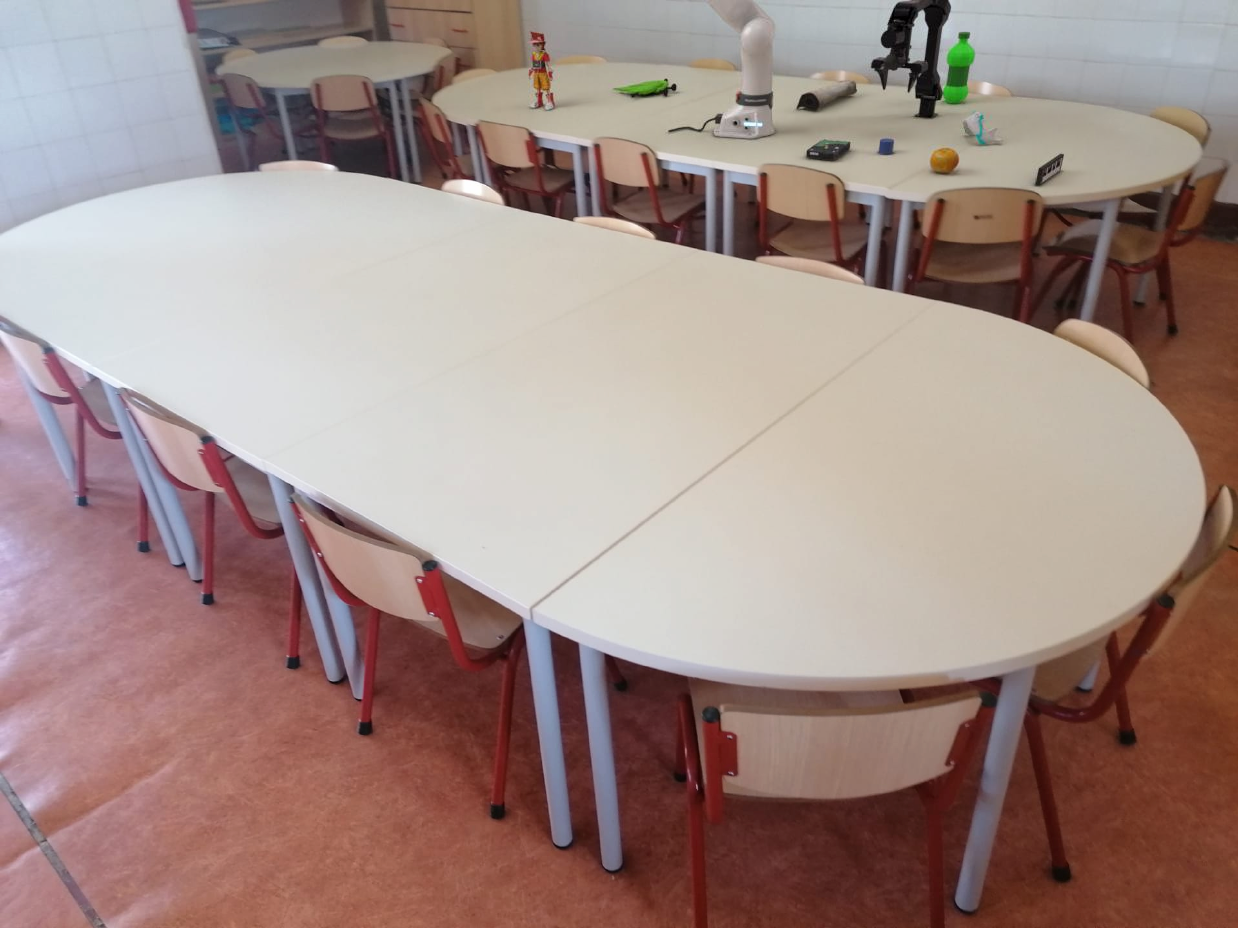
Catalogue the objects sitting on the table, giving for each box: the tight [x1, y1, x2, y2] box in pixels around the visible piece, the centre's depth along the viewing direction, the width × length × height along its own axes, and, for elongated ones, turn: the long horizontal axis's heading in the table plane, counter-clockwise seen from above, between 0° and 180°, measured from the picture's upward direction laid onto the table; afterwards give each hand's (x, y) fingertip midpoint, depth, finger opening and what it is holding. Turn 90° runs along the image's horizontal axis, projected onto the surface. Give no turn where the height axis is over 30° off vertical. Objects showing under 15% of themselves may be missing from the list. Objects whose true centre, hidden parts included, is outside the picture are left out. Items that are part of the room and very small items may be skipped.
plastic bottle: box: [942, 31, 976, 104], centre depth 348 cm, size 10×10×25 cm
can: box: [878, 137, 895, 156], centre depth 304 cm, size 5×5×4 cm
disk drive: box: [805, 138, 851, 161], centre depth 306 cm, size 10×3×15 cm
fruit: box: [929, 147, 960, 174], centre depth 283 cm, size 8×8×8 cm
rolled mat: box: [796, 79, 858, 112], centre depth 363 cm, size 30×9×10 cm
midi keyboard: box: [1035, 153, 1065, 186], centre depth 273 cm, size 18×1×5 cm, turn 138°
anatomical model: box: [962, 110, 1003, 146], centre depth 309 cm, size 15×10×10 cm
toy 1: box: [527, 31, 556, 111], centre depth 374 cm, size 12×9×30 cm
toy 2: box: [612, 78, 677, 99], centre depth 396 cm, size 28×5×30 cm
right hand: (896, 91), depth 316 cm, fingers open, 9 cm apart
